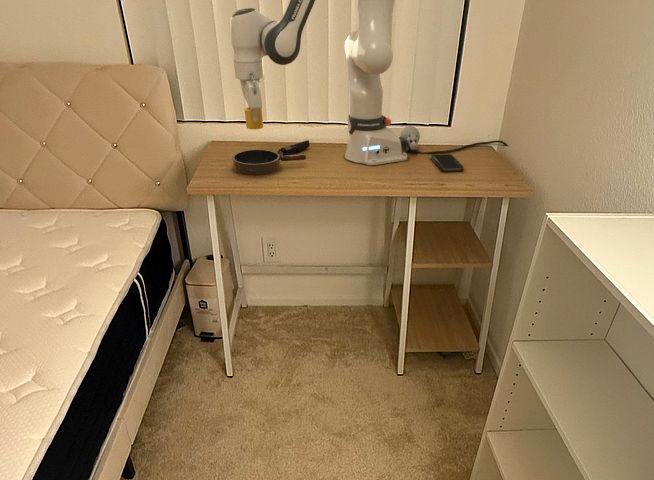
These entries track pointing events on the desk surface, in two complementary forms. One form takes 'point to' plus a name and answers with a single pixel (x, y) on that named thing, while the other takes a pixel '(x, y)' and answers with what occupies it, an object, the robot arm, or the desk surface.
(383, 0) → the robot arm
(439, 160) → the phone
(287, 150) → the electric trimmer
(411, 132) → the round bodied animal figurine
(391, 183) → the desk surface
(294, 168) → the desk surface
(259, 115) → the yellow pepper
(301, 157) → the pan handle
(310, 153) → the desk surface
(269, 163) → the pan
